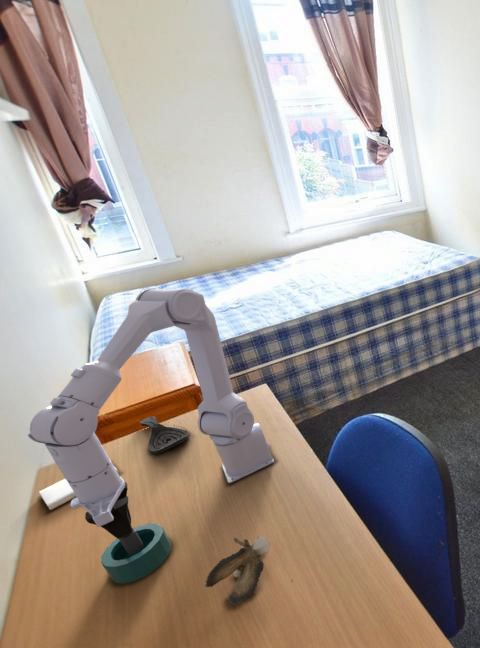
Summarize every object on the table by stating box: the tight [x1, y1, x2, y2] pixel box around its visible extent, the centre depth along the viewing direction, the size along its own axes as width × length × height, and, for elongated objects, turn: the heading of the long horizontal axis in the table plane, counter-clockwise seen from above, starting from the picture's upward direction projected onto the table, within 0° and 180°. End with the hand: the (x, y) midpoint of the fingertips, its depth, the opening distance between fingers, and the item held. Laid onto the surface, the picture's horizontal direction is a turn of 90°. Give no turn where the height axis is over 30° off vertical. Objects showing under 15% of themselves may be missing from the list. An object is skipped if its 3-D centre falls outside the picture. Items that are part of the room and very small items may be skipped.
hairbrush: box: [139, 415, 191, 455], centre depth 120 cm, size 8×4×25 cm
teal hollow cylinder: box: [100, 523, 172, 584], centre depth 84 cm, size 9×9×4 cm
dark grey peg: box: [119, 527, 145, 557], centre depth 82 cm, size 2×2×11 cm
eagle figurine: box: [204, 536, 271, 606], centre depth 79 cm, size 8×7×9 cm
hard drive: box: [38, 464, 120, 511], centre depth 106 cm, size 2×8×12 cm
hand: (124, 529), depth 82 cm, fingers closed on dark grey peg, 2 cm apart
